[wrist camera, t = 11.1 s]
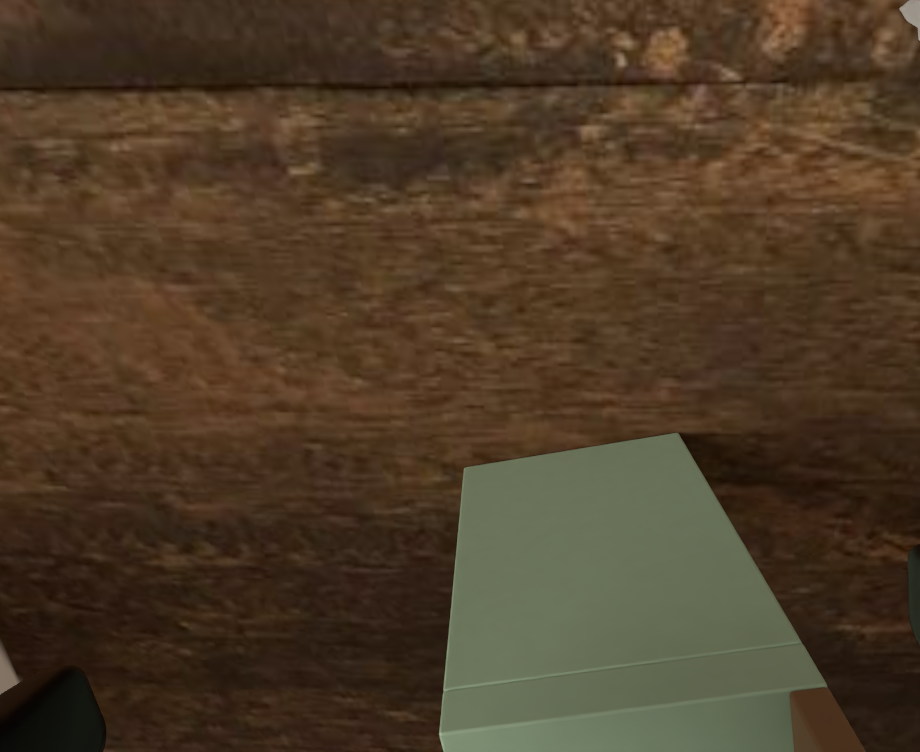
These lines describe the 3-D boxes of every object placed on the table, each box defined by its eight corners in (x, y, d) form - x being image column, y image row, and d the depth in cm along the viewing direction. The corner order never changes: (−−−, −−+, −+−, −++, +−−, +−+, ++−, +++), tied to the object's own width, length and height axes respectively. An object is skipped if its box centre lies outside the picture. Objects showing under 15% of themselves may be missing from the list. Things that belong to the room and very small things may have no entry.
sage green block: (516, 712, 24) (533, 1195, 13) (463, 466, 22) (430, 815, 11) (709, 687, 24) (893, 1172, 13) (678, 431, 21) (875, 763, 10)
